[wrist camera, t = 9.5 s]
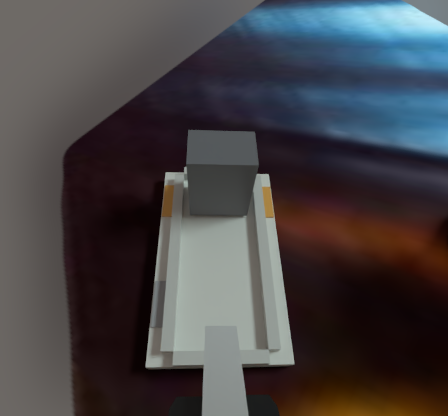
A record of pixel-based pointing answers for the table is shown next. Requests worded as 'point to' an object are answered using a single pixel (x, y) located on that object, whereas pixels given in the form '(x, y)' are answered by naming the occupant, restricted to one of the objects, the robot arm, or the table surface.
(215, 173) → the switch tab
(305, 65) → the table surface
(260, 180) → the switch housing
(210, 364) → the robot arm
